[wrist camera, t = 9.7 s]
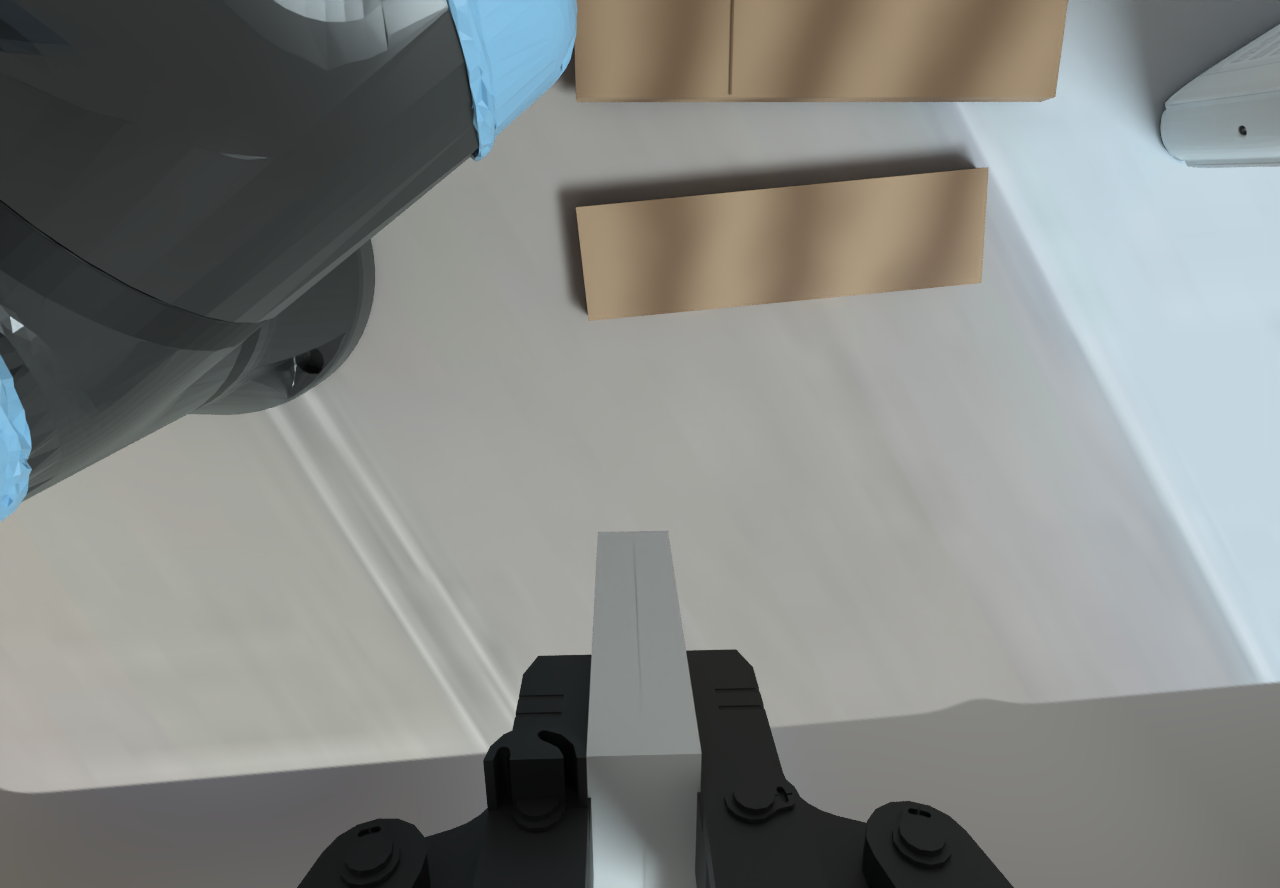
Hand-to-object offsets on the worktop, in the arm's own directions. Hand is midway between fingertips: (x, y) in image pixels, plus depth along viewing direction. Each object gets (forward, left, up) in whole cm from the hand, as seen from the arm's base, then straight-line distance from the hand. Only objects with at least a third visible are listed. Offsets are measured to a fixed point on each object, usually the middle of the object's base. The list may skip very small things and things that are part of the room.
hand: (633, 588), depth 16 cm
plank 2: (+8, +5, -24) cm, 26 cm away
